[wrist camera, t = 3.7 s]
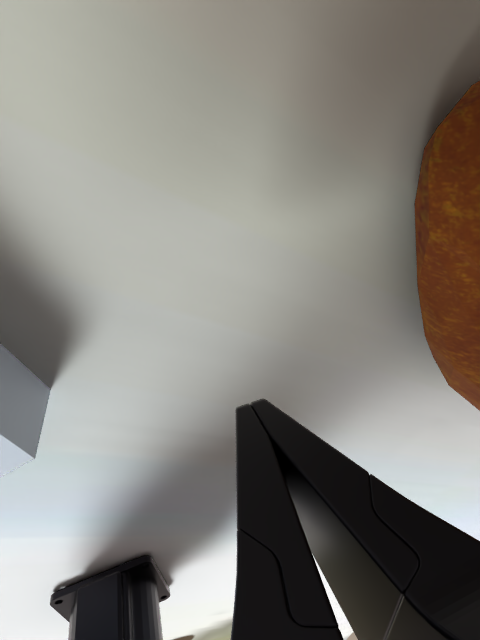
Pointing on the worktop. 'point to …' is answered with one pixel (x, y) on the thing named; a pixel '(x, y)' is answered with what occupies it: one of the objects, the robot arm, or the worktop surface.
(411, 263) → the worktop surface
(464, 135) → the bread
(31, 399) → the boxed book
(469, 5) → the worktop surface
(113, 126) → the worktop surface
